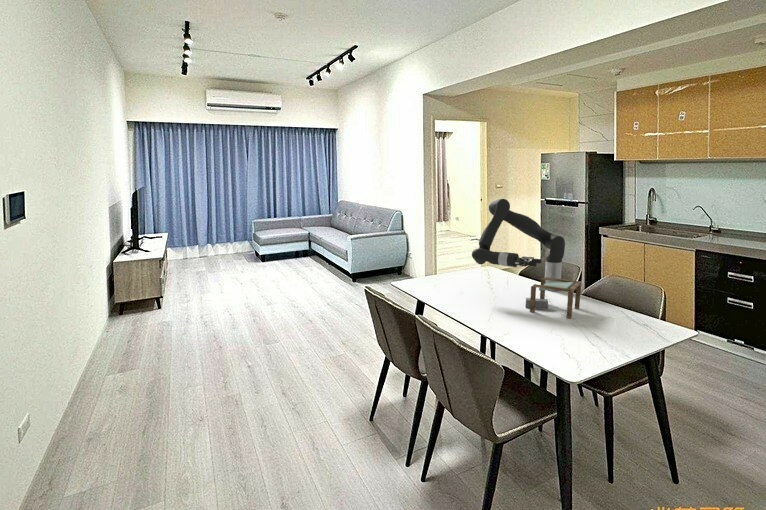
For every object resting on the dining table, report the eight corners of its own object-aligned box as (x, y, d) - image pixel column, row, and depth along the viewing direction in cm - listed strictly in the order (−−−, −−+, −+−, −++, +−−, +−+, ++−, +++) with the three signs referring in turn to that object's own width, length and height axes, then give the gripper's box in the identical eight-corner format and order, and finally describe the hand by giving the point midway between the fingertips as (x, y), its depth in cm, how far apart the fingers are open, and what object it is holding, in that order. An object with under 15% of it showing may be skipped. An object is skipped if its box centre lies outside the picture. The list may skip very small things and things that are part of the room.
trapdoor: (546, 284, 247) (546, 282, 247) (575, 284, 239) (574, 281, 239) (539, 290, 236) (538, 288, 236) (569, 290, 227) (568, 287, 227)
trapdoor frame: (540, 302, 253) (542, 276, 251) (579, 308, 242) (581, 281, 240) (529, 312, 237) (531, 284, 234) (570, 318, 226) (572, 290, 223)
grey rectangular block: (547, 307, 245) (525, 305, 248) (547, 299, 245) (525, 297, 248) (547, 309, 241) (525, 308, 244) (548, 301, 240) (526, 300, 243)
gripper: (504, 254, 243) (535, 258, 234) (513, 250, 254) (543, 253, 245) (503, 268, 244) (534, 272, 235) (512, 263, 256) (542, 267, 247)
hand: (538, 262), depth 240 cm, fingers open, 8 cm apart
